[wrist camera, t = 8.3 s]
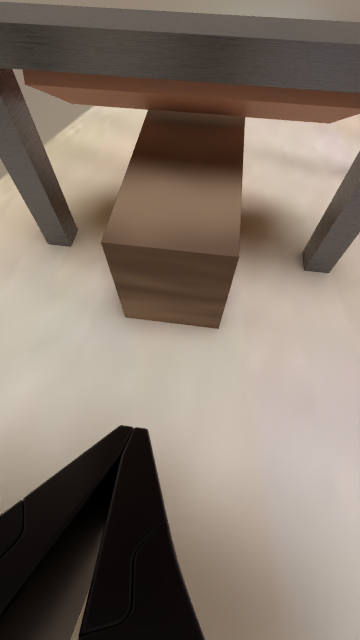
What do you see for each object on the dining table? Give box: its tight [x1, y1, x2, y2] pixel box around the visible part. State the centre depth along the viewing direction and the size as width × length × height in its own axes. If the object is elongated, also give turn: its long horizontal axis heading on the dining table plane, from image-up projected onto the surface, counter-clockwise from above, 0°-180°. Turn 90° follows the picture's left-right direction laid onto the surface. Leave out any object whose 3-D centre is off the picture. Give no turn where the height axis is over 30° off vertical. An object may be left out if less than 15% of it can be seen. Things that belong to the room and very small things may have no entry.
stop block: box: [101, 110, 245, 329], centre depth 21 cm, size 14×7×8 cm, turn 172°
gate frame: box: [0, 2, 360, 273], centre depth 18 cm, size 2×24×14 cm, turn 83°
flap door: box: [23, 70, 360, 123], centre depth 17 cm, size 1×18×6 cm
